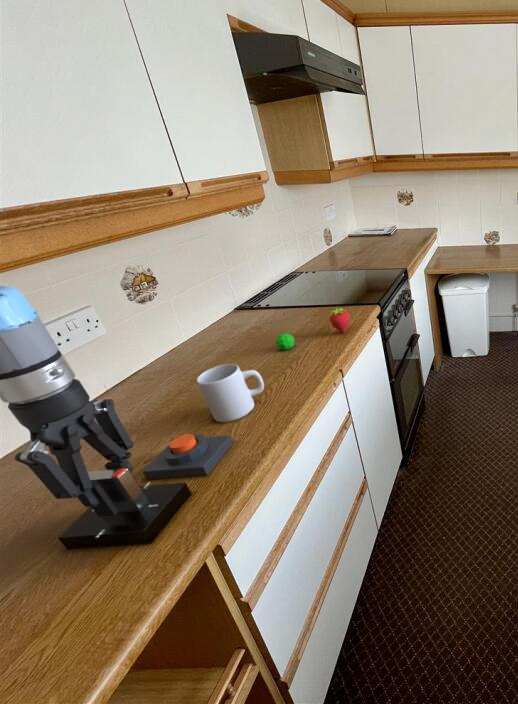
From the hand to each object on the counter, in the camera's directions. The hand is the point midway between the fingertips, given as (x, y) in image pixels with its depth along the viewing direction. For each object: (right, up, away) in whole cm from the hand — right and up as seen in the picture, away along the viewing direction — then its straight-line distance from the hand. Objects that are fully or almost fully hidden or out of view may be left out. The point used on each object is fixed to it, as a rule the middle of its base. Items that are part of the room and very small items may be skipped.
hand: (120, 501), depth 70 cm
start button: (+1, +5, +13) cm, 14 cm away
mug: (+1, +9, +30) cm, 31 cm away
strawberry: (+12, +27, +64) cm, 71 cm away
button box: (+1, +2, +15) cm, 15 cm away
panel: (0, -4, +2) cm, 5 cm away
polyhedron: (-3, +22, +57) cm, 61 cm away
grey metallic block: (0, -1, +1) cm, 2 cm away
